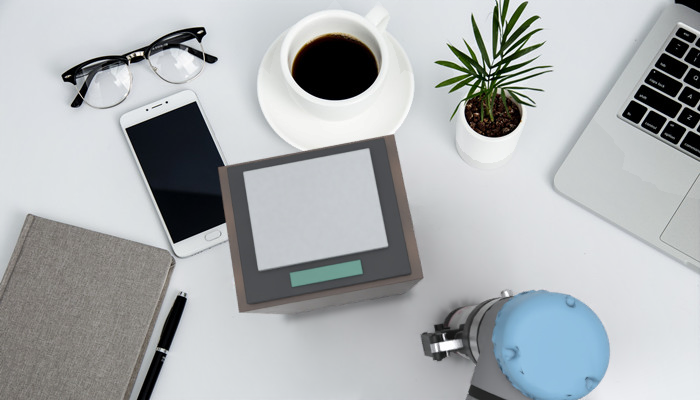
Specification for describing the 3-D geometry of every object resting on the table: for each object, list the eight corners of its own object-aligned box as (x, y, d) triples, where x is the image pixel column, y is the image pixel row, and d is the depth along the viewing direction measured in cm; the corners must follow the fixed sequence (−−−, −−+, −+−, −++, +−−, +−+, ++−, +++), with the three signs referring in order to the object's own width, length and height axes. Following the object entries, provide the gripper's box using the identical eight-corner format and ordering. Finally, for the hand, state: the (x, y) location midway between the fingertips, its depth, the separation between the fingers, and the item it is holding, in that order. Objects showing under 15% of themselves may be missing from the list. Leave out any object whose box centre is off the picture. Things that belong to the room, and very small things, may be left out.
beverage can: (492, 356, 81) (518, 364, 67) (443, 357, 82) (458, 365, 67) (489, 306, 83) (514, 303, 68) (441, 307, 83) (455, 304, 68)
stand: (405, 292, 83) (423, 278, 52) (290, 314, 84) (239, 312, 52) (387, 200, 86) (394, 133, 55) (275, 221, 86) (217, 167, 55)
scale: (411, 274, 52) (412, 272, 50) (249, 304, 52) (244, 304, 50) (384, 141, 55) (384, 134, 53) (229, 170, 55) (224, 164, 53)
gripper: (604, 277, 56) (539, 288, 79) (396, 316, 57) (390, 316, 79) (626, 360, 55) (553, 347, 78) (412, 400, 55) (402, 376, 78)
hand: (471, 332), depth 78 cm, fingers closed on beverage can, 6 cm apart
